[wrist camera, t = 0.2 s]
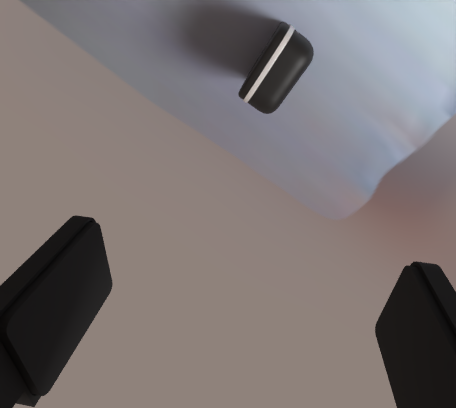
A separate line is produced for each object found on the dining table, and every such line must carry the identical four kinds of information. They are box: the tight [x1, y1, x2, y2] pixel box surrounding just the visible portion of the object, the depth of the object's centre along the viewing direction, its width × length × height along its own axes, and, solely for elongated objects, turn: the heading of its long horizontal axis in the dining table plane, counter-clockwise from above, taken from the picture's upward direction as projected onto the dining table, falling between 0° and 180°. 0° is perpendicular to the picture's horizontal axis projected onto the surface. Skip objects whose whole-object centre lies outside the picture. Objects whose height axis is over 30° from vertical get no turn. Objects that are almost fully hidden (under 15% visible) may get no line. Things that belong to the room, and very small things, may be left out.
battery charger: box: [239, 22, 314, 114], centre depth 29 cm, size 7×4×11 cm, turn 147°
